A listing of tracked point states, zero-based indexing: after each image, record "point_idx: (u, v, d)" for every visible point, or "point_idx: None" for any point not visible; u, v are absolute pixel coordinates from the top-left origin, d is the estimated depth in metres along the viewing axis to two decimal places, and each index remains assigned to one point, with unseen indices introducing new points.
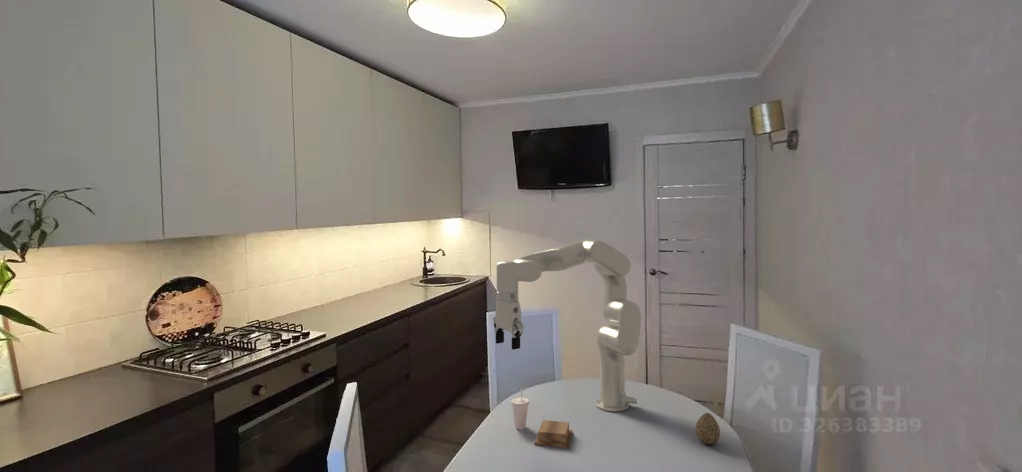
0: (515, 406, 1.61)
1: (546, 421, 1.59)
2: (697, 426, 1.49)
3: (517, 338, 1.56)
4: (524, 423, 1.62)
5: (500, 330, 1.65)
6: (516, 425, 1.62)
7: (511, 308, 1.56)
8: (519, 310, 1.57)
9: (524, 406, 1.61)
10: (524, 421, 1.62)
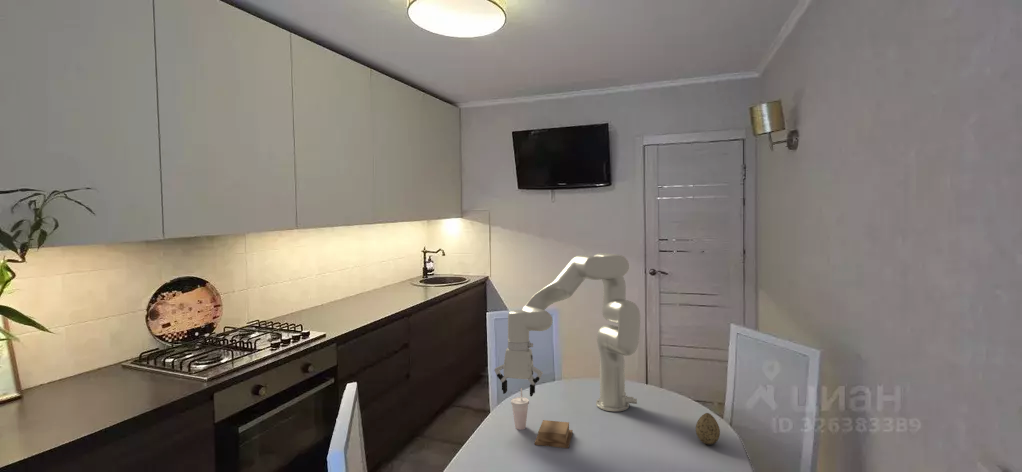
0: (515, 406, 1.61)
1: (546, 421, 1.59)
2: (697, 426, 1.49)
3: (534, 384, 1.61)
4: (524, 423, 1.62)
5: (505, 380, 1.64)
6: (516, 425, 1.62)
7: (529, 356, 1.60)
8: (532, 357, 1.63)
9: (524, 406, 1.61)
10: (524, 421, 1.62)
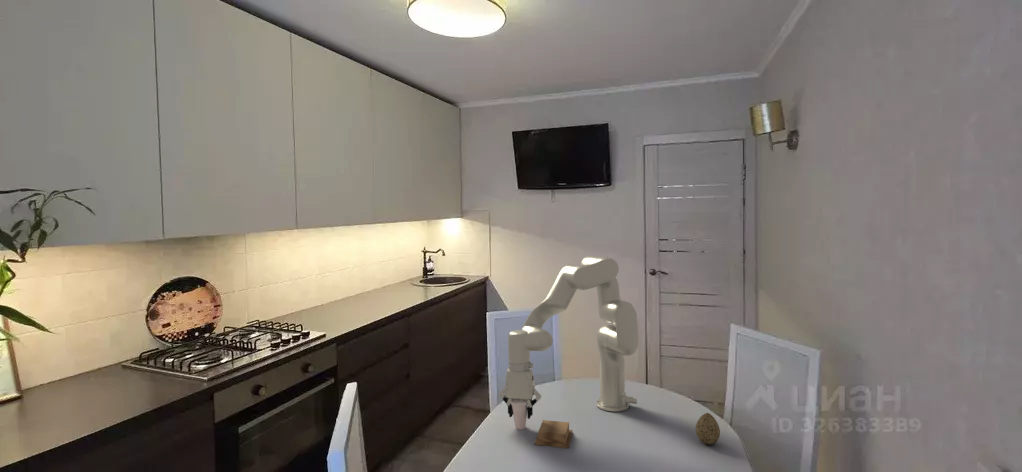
0: (515, 406, 1.61)
1: (546, 421, 1.59)
2: (697, 426, 1.49)
3: (532, 407, 1.62)
4: (524, 423, 1.62)
5: None
6: (516, 425, 1.62)
7: (530, 377, 1.60)
8: (533, 377, 1.63)
9: (524, 406, 1.61)
10: (524, 421, 1.62)
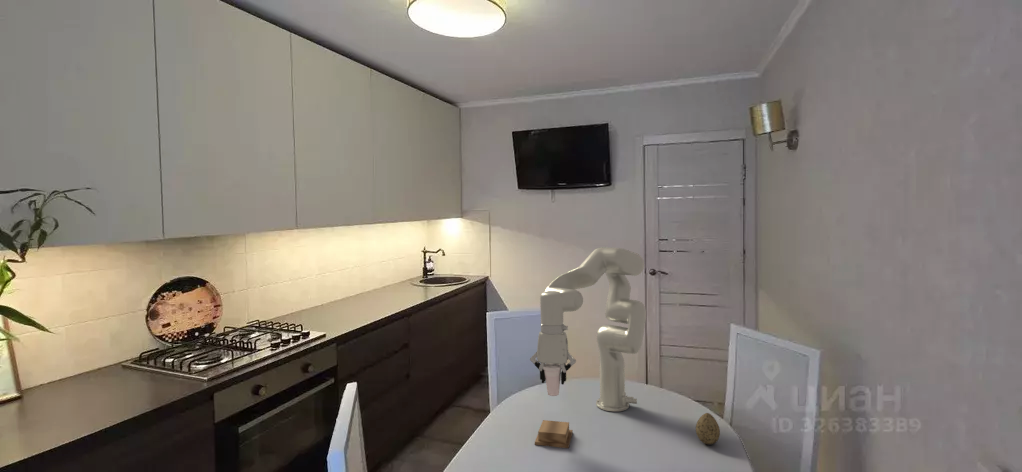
0: (548, 371, 1.52)
1: (546, 421, 1.59)
2: (697, 426, 1.49)
3: (565, 372, 1.53)
4: (557, 389, 1.53)
5: None
6: (549, 391, 1.53)
7: (565, 340, 1.51)
8: None
9: (557, 371, 1.51)
10: (557, 387, 1.52)
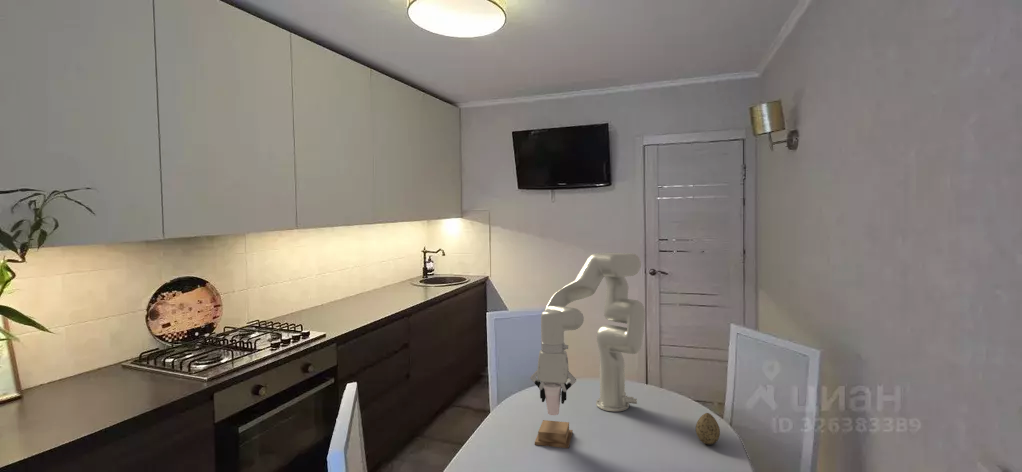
0: (548, 390, 1.52)
1: (546, 421, 1.59)
2: (697, 426, 1.49)
3: None
4: (557, 408, 1.53)
5: None
6: (549, 410, 1.53)
7: (565, 359, 1.51)
8: (567, 359, 1.54)
9: (557, 390, 1.51)
10: (557, 406, 1.52)
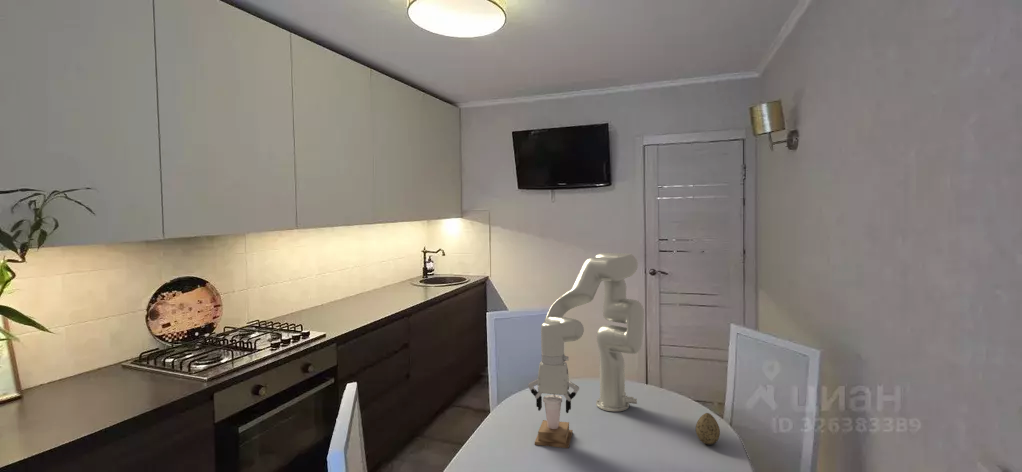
0: (548, 404, 1.52)
1: (546, 421, 1.59)
2: (697, 426, 1.49)
3: (570, 400, 1.53)
4: (557, 422, 1.53)
5: (540, 395, 1.55)
6: (549, 424, 1.53)
7: (565, 371, 1.51)
8: (567, 371, 1.54)
9: (557, 404, 1.52)
10: (557, 420, 1.53)
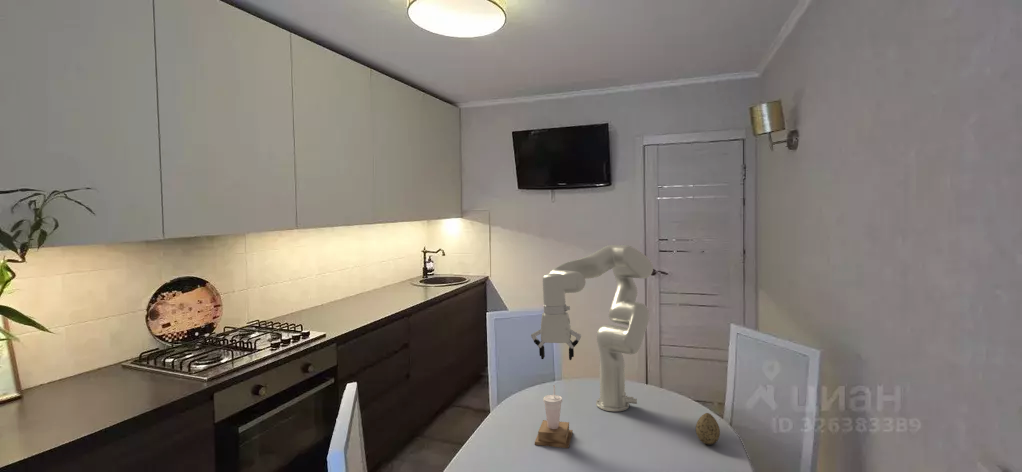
0: (548, 404, 1.52)
1: (546, 421, 1.59)
2: (697, 426, 1.49)
3: (573, 348, 1.58)
4: (557, 422, 1.53)
5: (542, 345, 1.61)
6: (549, 424, 1.53)
7: (567, 320, 1.57)
8: (569, 320, 1.60)
9: (558, 404, 1.52)
10: (557, 420, 1.53)
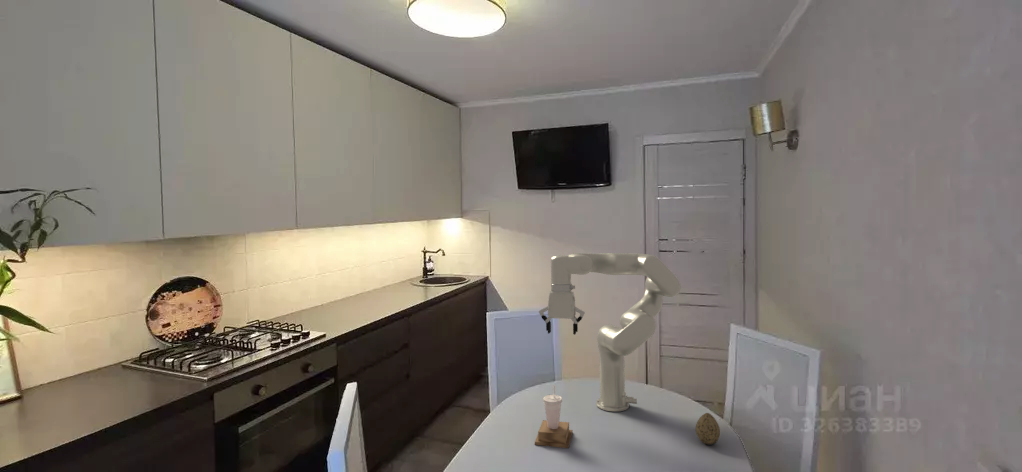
0: (548, 404, 1.52)
1: (546, 421, 1.59)
2: (697, 426, 1.49)
3: (577, 324, 1.73)
4: (557, 422, 1.53)
5: (549, 321, 1.76)
6: (549, 424, 1.53)
7: (572, 297, 1.72)
8: (574, 298, 1.75)
9: (557, 404, 1.52)
10: (557, 420, 1.53)
